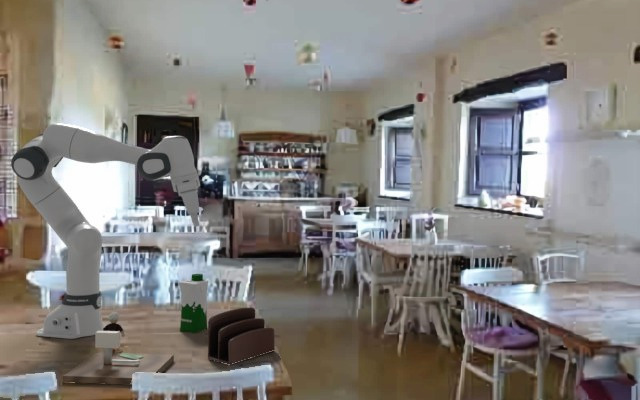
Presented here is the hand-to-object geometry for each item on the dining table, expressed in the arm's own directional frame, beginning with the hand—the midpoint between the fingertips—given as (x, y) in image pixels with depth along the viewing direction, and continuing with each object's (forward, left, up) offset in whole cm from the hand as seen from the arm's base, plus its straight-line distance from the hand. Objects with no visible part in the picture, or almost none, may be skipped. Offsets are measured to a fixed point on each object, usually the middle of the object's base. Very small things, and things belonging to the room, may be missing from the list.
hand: (195, 224), depth 206 cm
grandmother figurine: (-24, -11, -40) cm, 48 cm away
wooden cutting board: (-14, -30, -40) cm, 52 cm away
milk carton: (-6, +18, -40) cm, 45 cm away
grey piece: (-15, -30, -38) cm, 50 cm away
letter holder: (+18, -11, -41) cm, 46 cm away
